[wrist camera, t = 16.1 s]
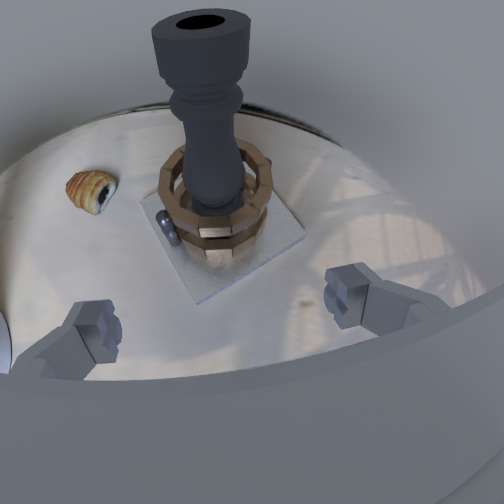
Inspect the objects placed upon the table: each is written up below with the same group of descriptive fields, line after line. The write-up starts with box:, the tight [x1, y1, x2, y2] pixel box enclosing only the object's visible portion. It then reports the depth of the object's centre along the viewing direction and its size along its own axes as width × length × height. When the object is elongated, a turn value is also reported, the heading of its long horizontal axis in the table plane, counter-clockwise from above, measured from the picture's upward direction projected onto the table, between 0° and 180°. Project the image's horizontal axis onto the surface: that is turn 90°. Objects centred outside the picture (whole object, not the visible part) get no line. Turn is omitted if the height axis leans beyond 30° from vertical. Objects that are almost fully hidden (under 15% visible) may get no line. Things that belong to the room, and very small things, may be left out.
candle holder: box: [152, 9, 251, 240], centre depth 23 cm, size 6×6×25 cm
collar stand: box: [140, 138, 307, 305], centre depth 31 cm, size 16×16×10 cm
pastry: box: [66, 171, 116, 215], centre depth 35 cm, size 9×7×4 cm
